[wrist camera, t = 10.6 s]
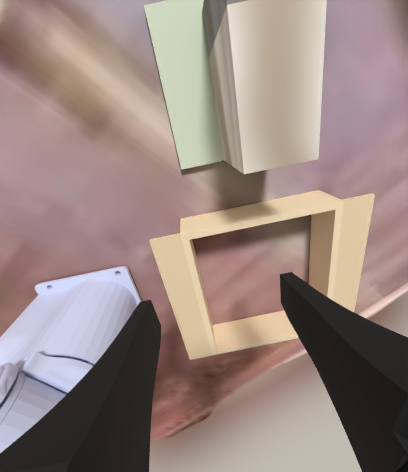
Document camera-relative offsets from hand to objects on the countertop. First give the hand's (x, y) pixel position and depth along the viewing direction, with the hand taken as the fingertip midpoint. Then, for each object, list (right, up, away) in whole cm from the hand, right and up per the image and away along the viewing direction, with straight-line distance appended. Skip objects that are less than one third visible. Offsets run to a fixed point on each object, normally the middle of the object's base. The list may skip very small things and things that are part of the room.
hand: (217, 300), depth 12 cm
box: (+2, +14, +4) cm, 15 cm away
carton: (+5, 0, +12) cm, 13 cm away
